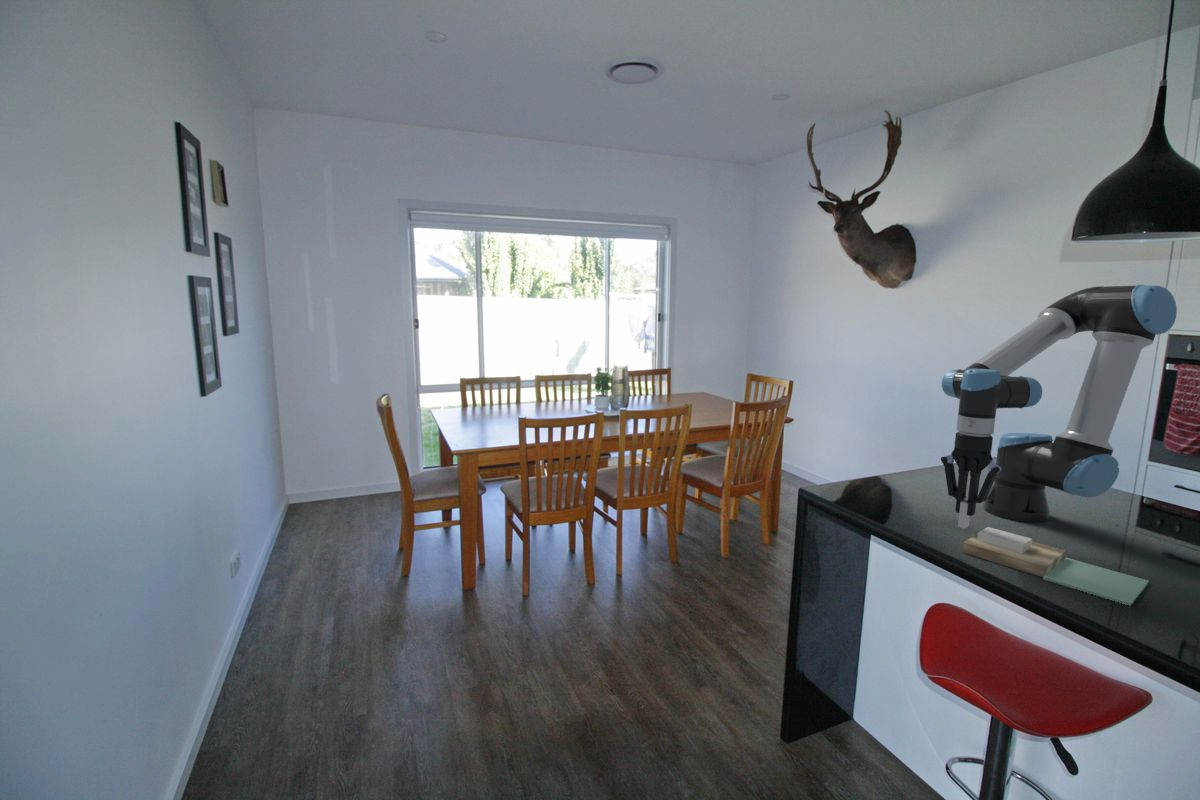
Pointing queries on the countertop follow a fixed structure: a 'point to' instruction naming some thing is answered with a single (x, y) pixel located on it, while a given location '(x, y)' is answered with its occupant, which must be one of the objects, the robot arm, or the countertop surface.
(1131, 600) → the mat
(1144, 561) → the countertop surface
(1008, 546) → the white rectangular block
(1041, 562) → the wooden board
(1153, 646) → the countertop surface
